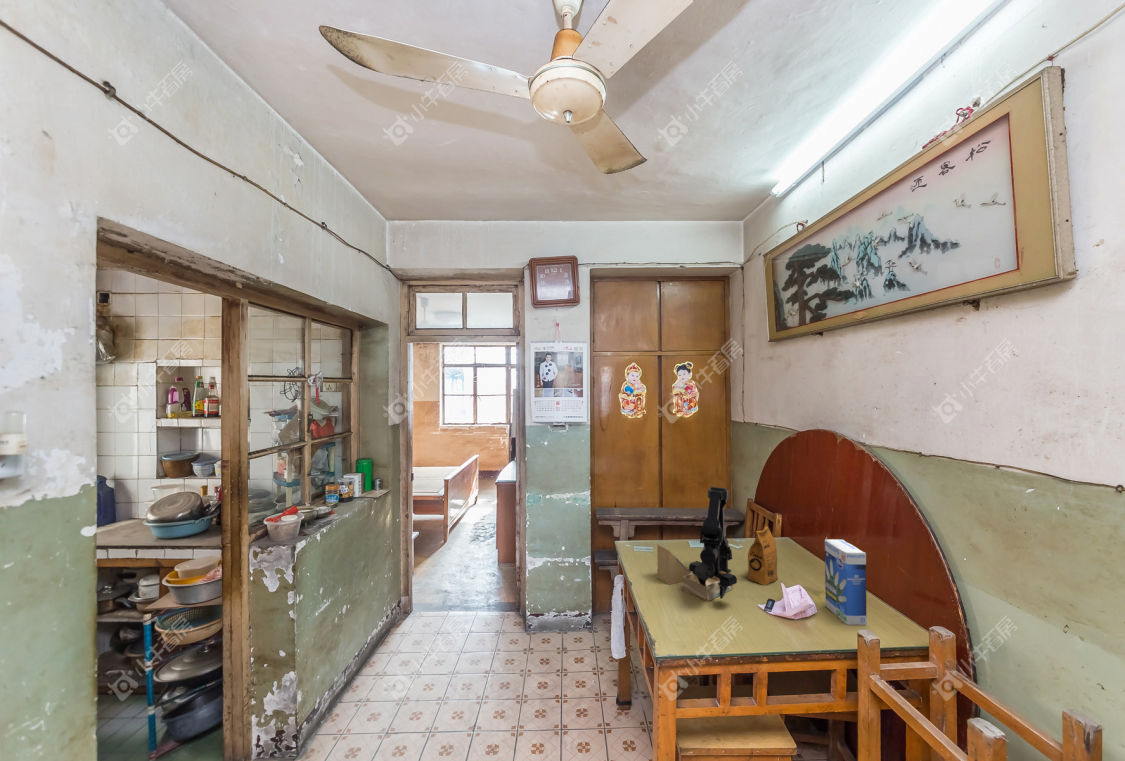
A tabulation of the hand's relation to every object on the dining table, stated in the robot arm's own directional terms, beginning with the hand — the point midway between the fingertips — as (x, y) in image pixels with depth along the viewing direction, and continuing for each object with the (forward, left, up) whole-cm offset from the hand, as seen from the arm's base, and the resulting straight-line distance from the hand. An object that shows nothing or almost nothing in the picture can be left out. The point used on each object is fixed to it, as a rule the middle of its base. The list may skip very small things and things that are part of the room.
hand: (712, 594), depth 170 cm
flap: (-5, 0, -1) cm, 5 cm away
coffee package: (-32, +3, -2) cm, 33 cm away
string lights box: (-28, +37, -2) cm, 47 cm away
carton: (-5, -6, -2) cm, 8 cm away
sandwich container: (-4, -21, -2) cm, 21 cm away
